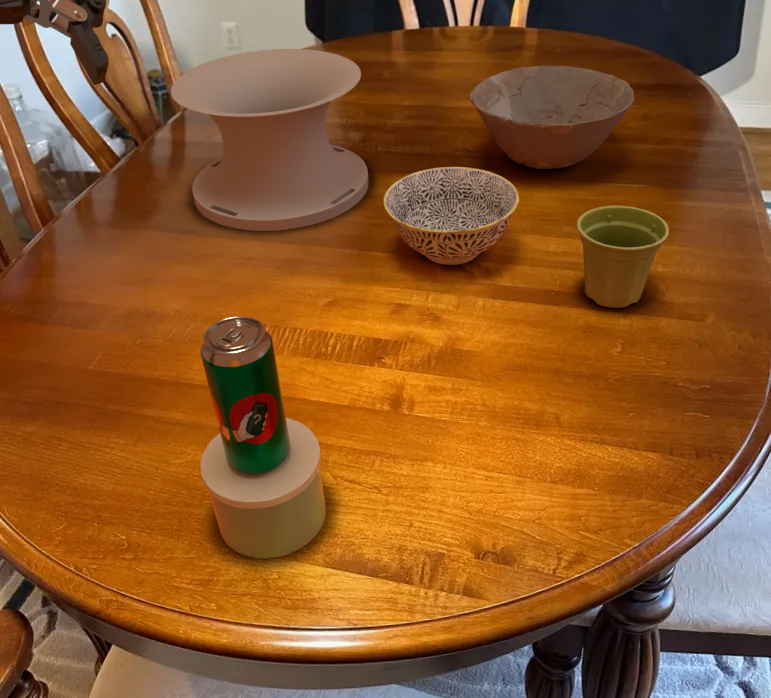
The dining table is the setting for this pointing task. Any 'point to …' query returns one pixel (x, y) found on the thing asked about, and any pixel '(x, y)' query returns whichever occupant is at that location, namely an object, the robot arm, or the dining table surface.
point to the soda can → (246, 394)
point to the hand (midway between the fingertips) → (44, 94)
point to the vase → (274, 139)
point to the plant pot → (619, 252)
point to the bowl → (451, 211)
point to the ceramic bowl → (551, 112)
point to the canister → (268, 498)
